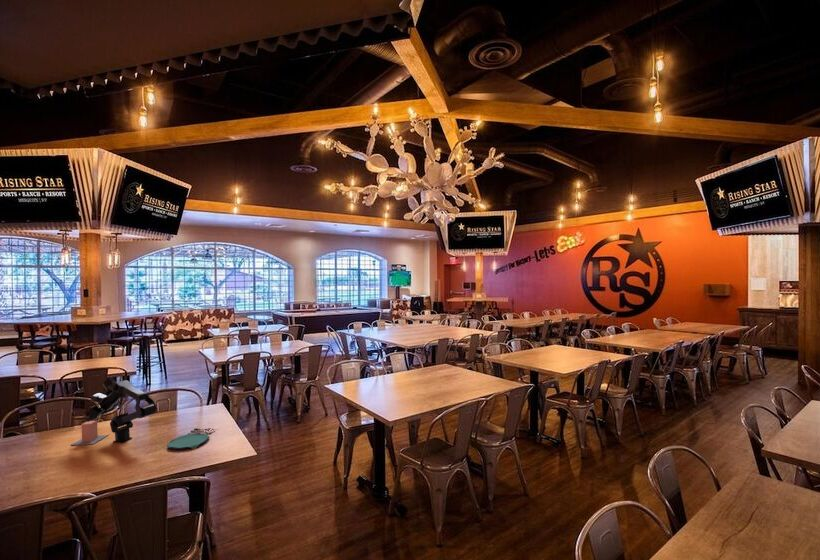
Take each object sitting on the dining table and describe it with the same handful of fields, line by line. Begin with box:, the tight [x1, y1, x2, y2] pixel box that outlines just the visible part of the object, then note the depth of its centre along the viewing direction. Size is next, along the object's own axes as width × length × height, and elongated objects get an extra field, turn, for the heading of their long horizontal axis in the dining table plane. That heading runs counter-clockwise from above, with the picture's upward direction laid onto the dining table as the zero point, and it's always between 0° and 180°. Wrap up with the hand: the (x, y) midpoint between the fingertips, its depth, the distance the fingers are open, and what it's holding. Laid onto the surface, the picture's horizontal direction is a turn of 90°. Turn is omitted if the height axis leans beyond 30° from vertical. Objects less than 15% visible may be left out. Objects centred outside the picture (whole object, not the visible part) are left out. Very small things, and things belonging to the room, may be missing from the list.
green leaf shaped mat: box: [166, 427, 211, 450], centre depth 223 cm, size 20×30×2 cm, turn 179°
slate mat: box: [70, 434, 109, 447], centre depth 224 cm, size 12×12×1 cm
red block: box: [81, 420, 99, 442], centre depth 224 cm, size 5×5×10 cm
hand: (93, 418), depth 224 cm, fingers open, 9 cm apart
